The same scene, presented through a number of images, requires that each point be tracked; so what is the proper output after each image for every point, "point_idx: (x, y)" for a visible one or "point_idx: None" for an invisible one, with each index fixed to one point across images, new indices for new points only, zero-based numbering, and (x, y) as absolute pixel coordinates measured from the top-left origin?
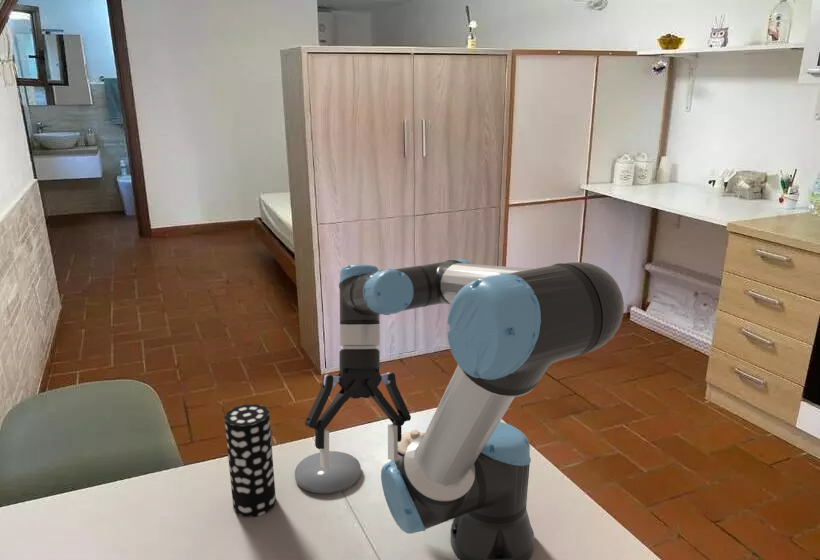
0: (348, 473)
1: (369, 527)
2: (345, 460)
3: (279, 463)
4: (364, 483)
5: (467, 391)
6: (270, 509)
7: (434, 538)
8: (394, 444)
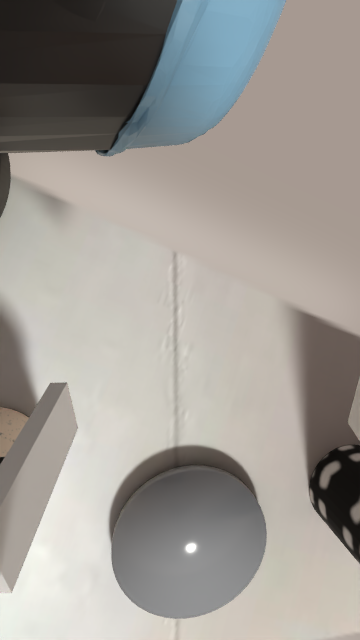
0: (151, 517)
1: (161, 332)
2: (141, 570)
3: (273, 603)
4: (120, 481)
5: None
6: (327, 455)
7: (35, 240)
8: (35, 435)
